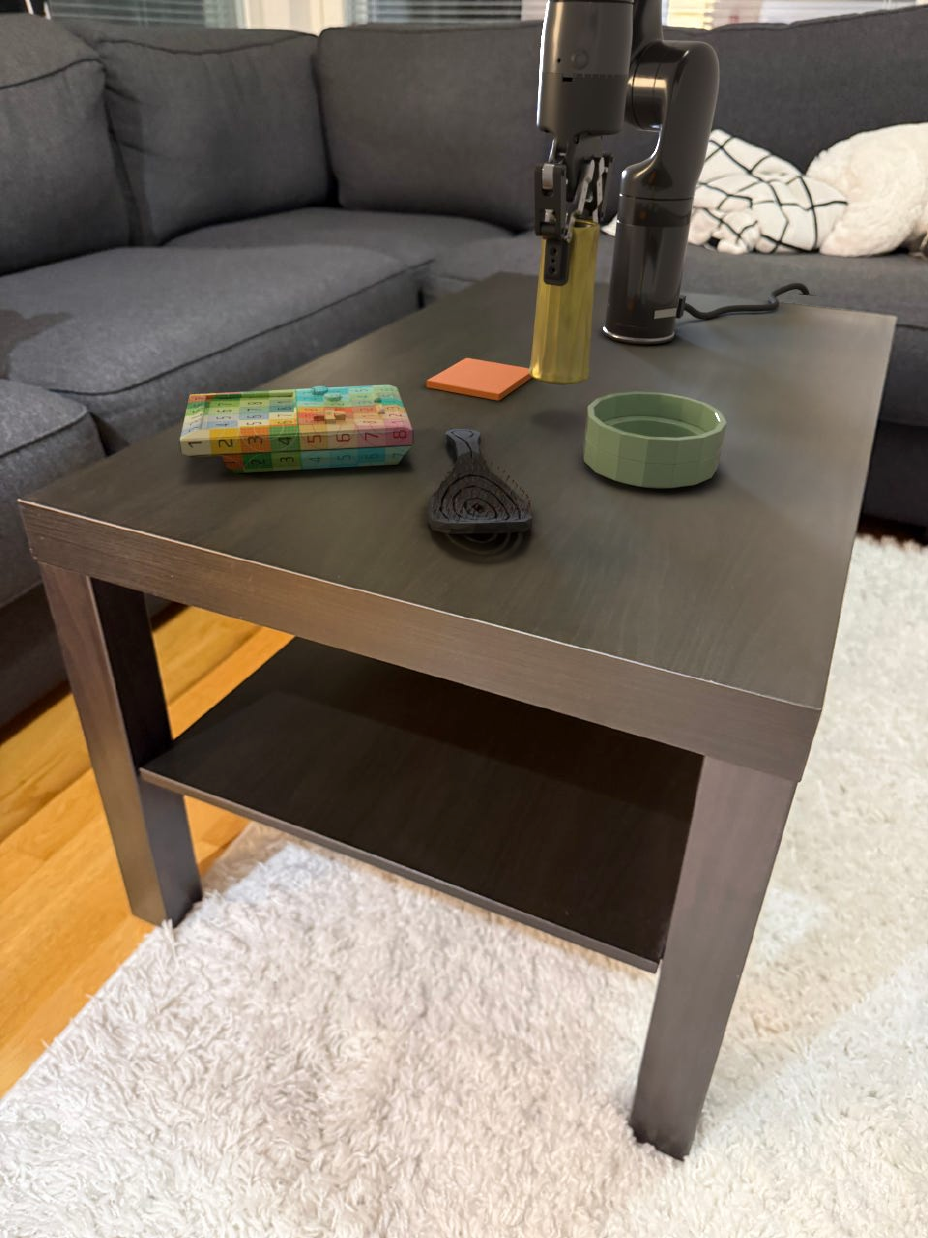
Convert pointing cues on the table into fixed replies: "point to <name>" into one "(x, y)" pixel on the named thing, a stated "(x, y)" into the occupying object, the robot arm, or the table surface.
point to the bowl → (653, 439)
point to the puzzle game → (298, 428)
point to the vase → (566, 313)
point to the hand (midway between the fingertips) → (566, 277)
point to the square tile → (480, 379)
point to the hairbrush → (475, 494)
